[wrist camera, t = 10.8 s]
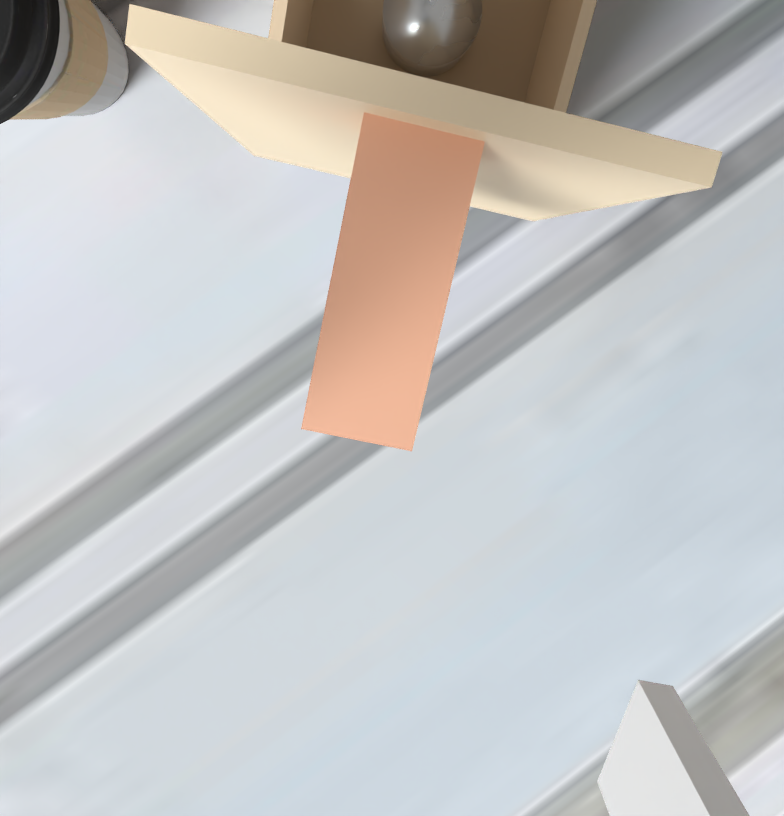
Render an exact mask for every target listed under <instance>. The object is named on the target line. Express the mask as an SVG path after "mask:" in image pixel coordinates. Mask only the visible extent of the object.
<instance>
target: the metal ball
mask: <svg viewBox="0 0 784 816" xmlns="http://www.w3.org/2000/svg"><path fill="white" fill-rule="evenodd" d="M481 18H482V0H384V2H383V17H382V34H383V39H384V43H385V46H386V49H387V51H388V53H389V55H390V56H391V58H392V59H393V60H394V62H395V63H396V64H397V65H398V66H399V67H400V68H402V69H403V70H405V71H406V72H408V73H410V74H413V75H416V76H421V77H431V76H436V75H440V74H442V73H444V72H446V71H448V70H449V69H451V68H452V67H453V66H455V65H456V64H457V63H458V61H459V60H460V59H461V58H462V56H463V55H464V54H465V52H466V51H467V50H468V48H469V47H470V46H471V44H472V43H473V41H474V39H475V37H476V35H477V33H478V30H479V27H480V24H481Z"/></svg>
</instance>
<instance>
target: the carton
mask: <svg viewBox="0 0 784 816" xmlns="http://www.w3.org/2000/svg"><path fill="white" fill-rule="evenodd" d="M383 2H384V0H274V4H273V10H272V17H271V23H270V30H269V37H268V39H272V40H276V41H280V42H284V43H288V44H292V45H296V46H300V47H304V48H308V49H312V50H316V51H320V52H324V53H328V54H332V55H336V56H340V57H344V58H348V59H352V60H356V61H360V62H364V63H368V64H372V65H376V66H380V67H384V68H388V69H392V70H396V71H400V72H404V73H408V72H406V71H405V70H403V69H402V68H400V67H399V66H398V65H397V64H396V63H395V62H394V60H393V59H392V58H391V56H390V55H389V53H388V51H387V49H386V46H385V43H384V39H383V34H382V17H383ZM596 3H597V0H482V18H481V24H480V27H479V30H478V33H477V35H476V37H475V39H474V41H473V43H472V44H471V46H470V47H469V48H468V50H467V51H466V52H465V54H464V55H463V56H462V58H461V59H460V60H459V61H458V63H457V64H456V65H455V66H453V67H452V68H451V69H449V70H448V71H446V72H444V73H442V74H440V75H436V76H431V77H424V78H428V79H432V80H436V81H440V82H444V83H448V84H452V85H456V86H460V87H464V88H468V89H472V90H476V91H480V92H484V93H488V94H492V95H496V96H500V97H504V98H508V99H512V100H516V101H520V102H524V103H528V104H532V105H536V106H540V107H544V108H548V109H552V110H556V111H560V112H564V113H566V111H567V107H568V104H569V100H570V96H571V93H572V89H573V86H574V82H575V78H576V75H577V71H578V68H579V64H580V60H581V57H582V53H583V50H584V46H585V42H586V39H587V35H588V31H589V28H590V24H591V21H592V17H593V13H594V10H595V6H596ZM408 74H410V73H408ZM412 75H413V74H412ZM420 77H421V76H420Z"/></svg>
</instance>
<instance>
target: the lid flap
mask: <svg viewBox="0 0 784 816" xmlns="http://www.w3.org/2000/svg"><path fill="white" fill-rule="evenodd" d="M125 44H126V45H127V46H128V47H129V48H130V49H131V50H133V51H134V52H135V53H136V54H137V55H138V56H140V57H141V58H142V59H143V60H144V61H145V62H146V63H148V64H149V65H150V66H151V67H152V68H153V69H155V70H156V71H157V72H158V73H159V74H160V75H161V76H163V77H164V78H165V79H166V80H167V81H168V82H170V83H171V84H172V85H173V86H174V87H175V88H176V89H178V90H179V91H180V92H181V93H182V94H183V95H185V96H186V97H187V98H188V99H189V100H190V101H191V102H193V103H194V104H195V105H196V106H197V107H198V108H200V109H201V110H202V111H203V112H204V113H205V114H206V115H208V116H209V117H210V118H211V119H212V120H213V121H215V122H216V123H217V124H218V125H219V126H220V127H221V128H223V129H224V130H225V131H226V132H227V133H228V134H230V135H231V136H232V137H233V138H234V139H235V140H236V141H238V142H239V143H240V144H241V145H242V146H243V147H245V148H246V149H247V150H248V151H249V152H250V153H251V154H253V155H254V156H258V157H262V158H266V159H270V160H275V161H279V162H283V163H287V164H292V165H296V166H300V167H304V168H309V169H313V170H317V171H321V172H326V173H330V174H334V175H339V176H343V177H347V178H351V180H350V185H349V190H348V195H347V200H346V205H345V211H344V216H343V221H342V226H341V231H340V236H339V241H338V246H337V251H336V256H335V261H334V266H333V271H332V276H331V281H330V286H329V291H328V296H327V301H326V307H325V312H324V317H323V322H322V327H321V332H320V337H319V342H318V347H317V352H316V357H315V362H314V367H313V372H312V377H311V382H310V387H309V392H308V397H307V402H306V408H305V413H304V418H303V423H302V428H301V429H305V430H310V431H315V432H319V433H324V434H329V435H334V436H339V437H344V438H349V439H354V440H359V441H364V442H369V443H374V444H379V445H384V446H389V447H394V448H399V449H404V450H408V451H412V449H413V444H414V440H415V436H416V432H417V427H418V423H419V419H420V415H421V410H422V406H423V402H424V398H425V393H426V389H427V385H428V381H429V376H430V372H431V368H432V364H433V359H434V355H435V351H436V347H437V343H438V338H439V334H440V330H441V326H442V321H443V317H444V313H445V309H446V304H447V300H448V296H449V292H450V287H451V283H452V279H453V275H454V270H455V266H456V262H457V258H458V253H459V249H460V245H461V241H462V237H463V232H464V228H465V224H466V220H467V215H468V211H469V207H475V208H479V209H483V210H487V211H492V212H496V213H500V214H504V215H509V216H513V217H517V218H522V219H526V220H530V221H537V220H542V219H547V218H553V217H558V216H563V215H568V214H574V213H579V212H584V211H590V210H595V209H600V208H605V207H611V206H616V205H621V204H627V203H632V202H637V201H642V200H648V199H653V198H658V197H663V196H669V195H674V194H679V193H685V192H690V191H695V190H700V189H706V188H711V187H712V184H713V181H714V178H715V175H716V171H717V168H718V165H719V162H720V158H721V155H722V152H720V151H716V150H712V149H708V148H704V147H700V146H696V145H692V144H688V143H684V142H680V141H676V140H672V139H668V138H664V137H660V136H656V135H652V134H648V133H644V132H640V131H636V130H632V129H628V128H624V127H620V126H616V125H612V124H608V123H604V122H600V121H596V120H592V119H588V118H584V117H580V116H576V115H572V114H568V113H564V112H560V111H556V110H552V109H548V108H544V107H540V106H536V105H532V104H528V103H524V102H520V101H516V100H512V99H508V98H504V97H500V96H496V95H492V94H488V93H484V92H480V91H476V90H472V89H468V88H464V87H460V86H456V85H452V84H448V83H444V82H440V81H436V80H432V79H428V78H424V77H420V76H416V75H412V74H408V73H404V72H400V71H396V70H392V69H388V68H384V67H380V66H376V65H372V64H368V63H364V62H360V61H356V60H352V59H348V58H344V57H340V56H336V55H332V54H328V53H324V52H320V51H316V50H312V49H308V48H304V47H300V46H296V45H292V44H288V43H284V42H280V41H276V40H272V39H268V38H264V37H260V36H256V35H252V34H248V33H244V32H240V31H236V30H232V29H228V28H224V27H220V26H216V25H212V24H208V23H204V22H200V21H196V20H192V19H188V18H184V17H180V16H176V15H172V14H168V13H164V12H160V11H156V10H152V9H148V8H144V7H140V6H136V5H132V4H129V12H128V20H127V28H126V36H125Z"/></svg>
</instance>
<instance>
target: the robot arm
mask: <svg viewBox="0 0 784 816" xmlns="http://www.w3.org/2000/svg"><path fill="white" fill-rule="evenodd" d="M597 782H598V785H599V788H600V790H601V793H602V796H603V799H604V801H605V804H606V807H607V809H608V812H609V815H610V816H749V814H748V812H747V811H746V809H745V807H744V806H743V804H742V802H741V801H740V799H739V797H738V796H737V794H736V792H735V790H734V789H733V787H732V785H731V784H730V782H729V780H728V779H727V777H726V775H725V774H724V772H723V770H722V768H721V767H720V765H719V763H718V762H717V760H716V758H715V757H714V755H713V753H712V752H711V750H710V748H709V746H708V745H707V743H706V741H705V740H704V738H703V736H702V735H701V733H700V731H699V730H698V728H697V726H696V725H695V723H694V721H693V719H692V718H691V716H690V714H689V713H688V711H687V709H686V708H685V706H684V704H683V703H682V701H681V699H680V697H679V696H678V694H677V692H676V691H675V689H674V687H673V686H670V685H664V684H658V683H653V682H647V681H641V680H638V681H637V684H636V686H635V689H634V691H633V694H632V696H631V699H630V701H629V704H628V706H627V709H626V711H625V714H624V716H623V719H622V721H621V724H620V726H619V729H618V731H617V734H616V736H615V739H614V741H613V744H612V746H611V749H610V751H609V754H608V756H607V759H606V761H605V764H604V766H603V769H602V771H601V774H600V776H599V779H598V781H597Z"/></svg>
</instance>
